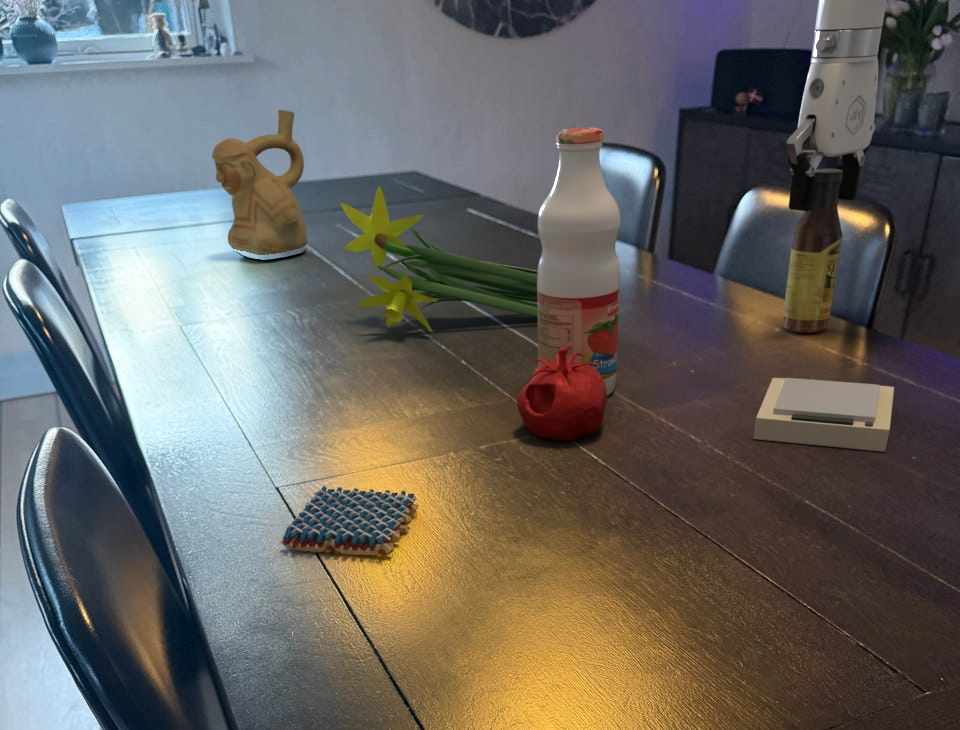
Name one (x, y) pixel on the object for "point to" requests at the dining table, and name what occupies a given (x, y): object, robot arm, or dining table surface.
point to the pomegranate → (563, 398)
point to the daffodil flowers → (434, 271)
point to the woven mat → (351, 522)
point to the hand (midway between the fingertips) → (822, 204)
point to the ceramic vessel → (262, 192)
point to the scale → (826, 413)
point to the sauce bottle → (814, 259)
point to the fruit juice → (579, 259)
